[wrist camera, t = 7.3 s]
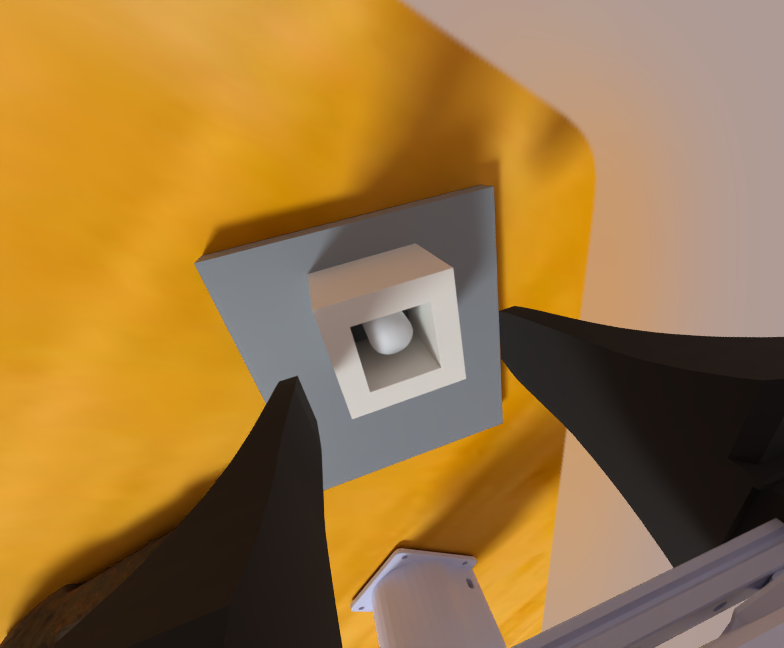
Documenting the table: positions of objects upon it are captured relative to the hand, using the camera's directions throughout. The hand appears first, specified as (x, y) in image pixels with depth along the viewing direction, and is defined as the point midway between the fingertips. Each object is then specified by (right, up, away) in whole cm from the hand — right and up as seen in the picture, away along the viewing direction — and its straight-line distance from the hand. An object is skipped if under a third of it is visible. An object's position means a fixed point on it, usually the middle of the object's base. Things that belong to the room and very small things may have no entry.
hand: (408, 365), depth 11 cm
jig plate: (-1, 0, +7) cm, 7 cm away
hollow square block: (-1, +2, +4) cm, 5 cm away
